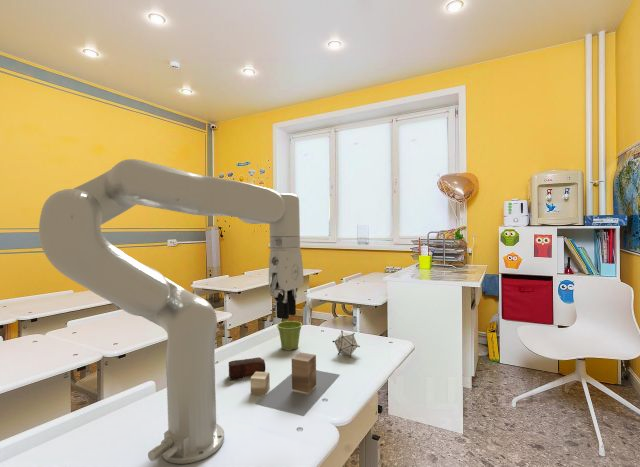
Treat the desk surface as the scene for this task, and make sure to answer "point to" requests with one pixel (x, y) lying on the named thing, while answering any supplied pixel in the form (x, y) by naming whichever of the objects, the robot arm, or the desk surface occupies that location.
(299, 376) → the walnut block
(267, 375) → the beech block
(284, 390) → the mat
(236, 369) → the brick
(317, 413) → the desk surface
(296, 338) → the plant pot
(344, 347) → the spiked icosahedron
